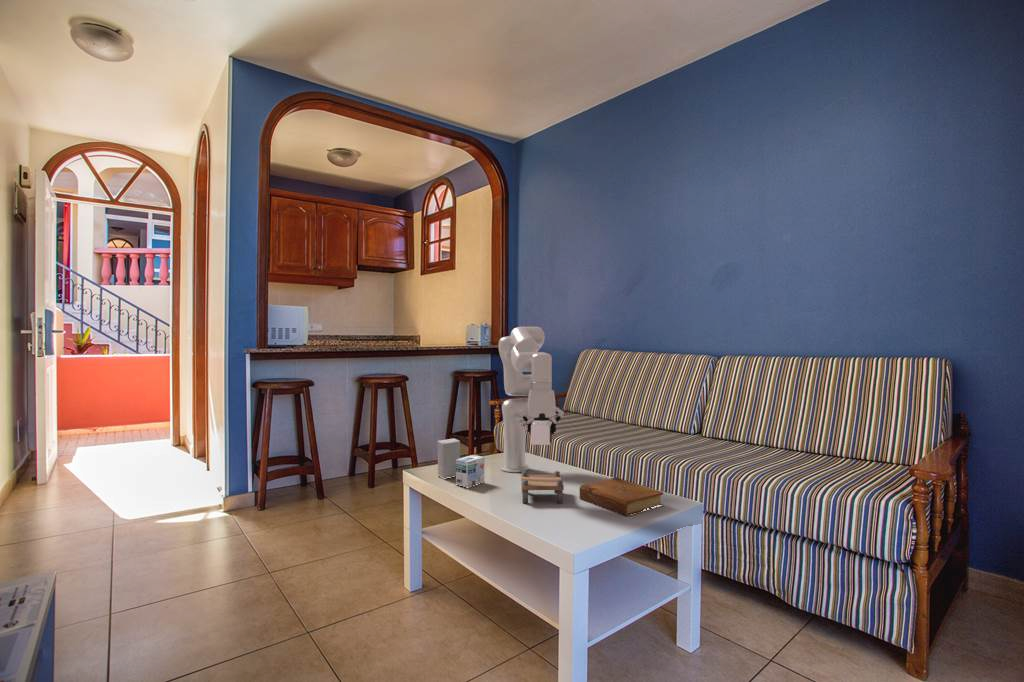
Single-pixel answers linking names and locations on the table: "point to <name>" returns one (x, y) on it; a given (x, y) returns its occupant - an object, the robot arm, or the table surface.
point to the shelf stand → (542, 484)
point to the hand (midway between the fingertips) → (541, 433)
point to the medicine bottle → (541, 431)
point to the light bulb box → (469, 470)
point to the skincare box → (448, 457)
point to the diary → (620, 495)
